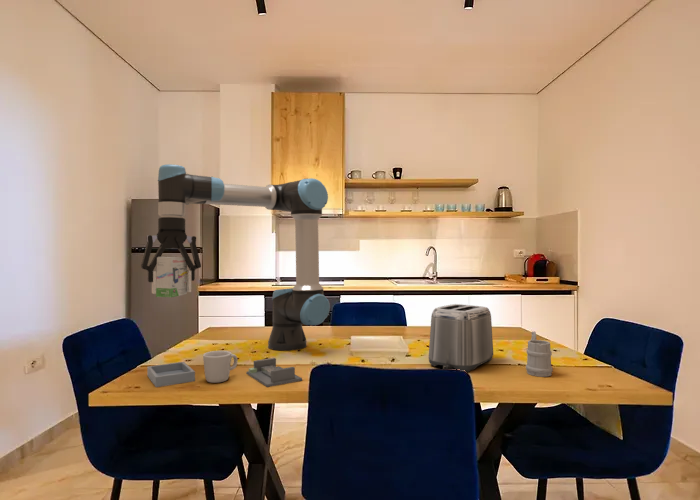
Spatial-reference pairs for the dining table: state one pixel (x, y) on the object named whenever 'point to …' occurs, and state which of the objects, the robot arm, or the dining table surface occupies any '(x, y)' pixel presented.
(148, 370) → the trough
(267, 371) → the checker pad
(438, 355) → the toaster
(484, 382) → the dining table surface
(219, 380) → the cup
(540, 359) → the mug
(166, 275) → the ink box
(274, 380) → the cradle
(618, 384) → the dining table surface
